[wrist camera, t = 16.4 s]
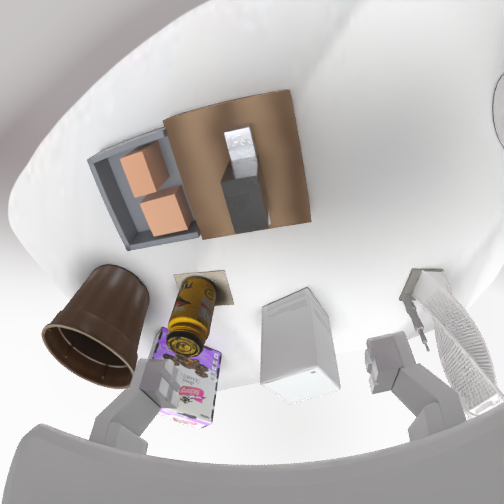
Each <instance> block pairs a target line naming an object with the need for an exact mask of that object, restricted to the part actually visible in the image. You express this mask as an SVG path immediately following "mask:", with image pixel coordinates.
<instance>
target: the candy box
mask: <svg viewBox="0 0 504 504" xmlns="http://www.w3.org/2000/svg"><path fill="white" fill-rule="evenodd" d="M168 331H169V330H168V329H166V328H164V327H162V328H161V330H160V331H159V333H158V334H157V335H156V337H155V338H154V341H153V345H152V348H151V351H150V354H149V357H148V359H171V360H172V361H173V362H174V367H176V368H178V369H179V370H180V371H181V374H182V379H183V383H182V388H181V389H180V390H179V391H178V394H179V396H180V398H179V403H178V408H177V409H172V408H161V410H160V411H159V412H158V414H157V415H159V416H163V417H165V418H168V419H171V420H173V421H176V422H179V423H183V424H185V425H188V426H192V427H195V428H197V429H202V428H204V427H206V426H208V425H210V424H212V421H213V413H214V406H215V399H216V391H217V384H218V377H219V370H220V363H221V356H222V353H220V352H217V351H215V350H213V349H210V348H208V347H206V346H204V347H203V348H204V349H203V351H202V352H201V353H200V355H198V356H196V357H183V356H180V355H178V354H175V353H174V352H172V351H171V350H169V348H168V346H167V344H166V338H167V336H168Z"/></svg>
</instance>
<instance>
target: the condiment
mask: <svg viewBox="0 0 504 504" xmlns="http://www.w3.org/2000/svg"><path fill="white" fill-rule="evenodd" d="M173 276H174V278H175V280H176V283H177V285H178V287H179V289H180V290H179V293H178V296H177V298H176V302H175V305H174V308H173V311H172V314H171V317H170V320H169V323H168V330H169V331H168V336H167V338H166V344H167V346H168V348H169V350H171V351H172V352H174V353H175V354H178V355H180V356H183V357H196V356H198V355H200V353H201V352H202V351H203V349H204V348H203V347H204V344H205V340H206V339H207V338H208V336H209V332H210V326H211V321H212V316H213V311H214V306H217V305H234V303H233V299H232V295H231V292H230V288H229V284H228V282H227V278H226V275H225V271H214V272H203V273H189V274H178V275H173ZM212 280H213V281H212ZM214 281H216V282H214Z"/></svg>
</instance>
